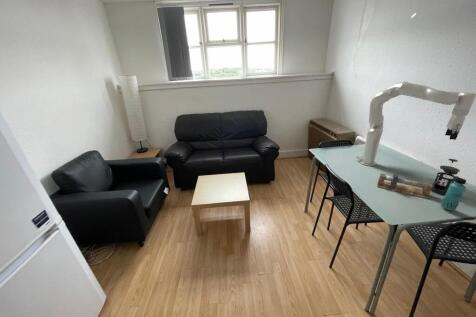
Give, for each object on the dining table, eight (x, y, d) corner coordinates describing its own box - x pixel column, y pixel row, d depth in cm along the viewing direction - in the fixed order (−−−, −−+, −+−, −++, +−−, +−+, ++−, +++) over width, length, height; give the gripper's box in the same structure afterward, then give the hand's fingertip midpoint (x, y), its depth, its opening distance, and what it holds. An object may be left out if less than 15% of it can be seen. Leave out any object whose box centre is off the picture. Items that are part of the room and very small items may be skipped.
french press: (433, 194, 132) (447, 161, 122) (426, 186, 140) (438, 155, 131) (456, 196, 128) (472, 163, 119) (447, 189, 136) (461, 157, 127)
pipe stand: (377, 187, 141) (379, 177, 138) (378, 180, 149) (380, 171, 146) (428, 199, 127) (432, 188, 124) (426, 191, 134) (430, 181, 131)
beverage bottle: (436, 206, 120) (449, 176, 112) (446, 205, 121) (460, 175, 113) (447, 213, 114) (462, 182, 106) (458, 212, 115) (473, 181, 107)
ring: (390, 186, 137) (394, 176, 134) (390, 181, 143) (394, 171, 140) (395, 187, 136) (398, 177, 133) (395, 182, 142) (398, 172, 139)
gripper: (448, 109, 142) (439, 133, 149) (456, 114, 128) (446, 140, 135) (463, 110, 138) (453, 134, 145) (473, 115, 125) (462, 141, 131)
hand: (450, 137), depth 140 cm, fingers open, 9 cm apart
